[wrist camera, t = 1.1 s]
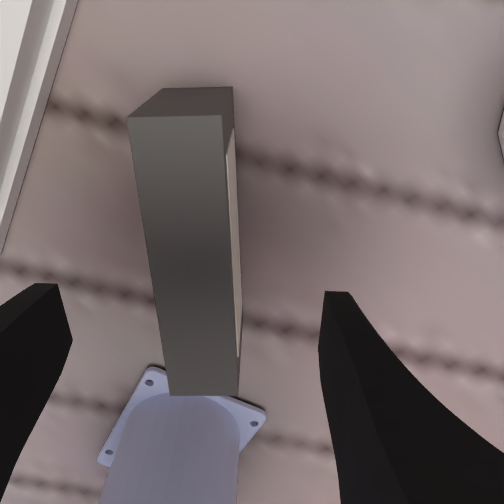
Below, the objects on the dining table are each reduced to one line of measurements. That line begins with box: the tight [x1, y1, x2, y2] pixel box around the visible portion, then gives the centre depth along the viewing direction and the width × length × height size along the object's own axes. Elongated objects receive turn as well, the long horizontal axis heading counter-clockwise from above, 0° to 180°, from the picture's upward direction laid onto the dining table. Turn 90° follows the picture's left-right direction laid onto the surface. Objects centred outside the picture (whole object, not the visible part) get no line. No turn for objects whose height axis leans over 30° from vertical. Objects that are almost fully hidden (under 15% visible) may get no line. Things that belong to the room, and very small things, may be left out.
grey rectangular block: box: [126, 87, 243, 396], centre depth 20 cm, size 12×3×6 cm, turn 2°
